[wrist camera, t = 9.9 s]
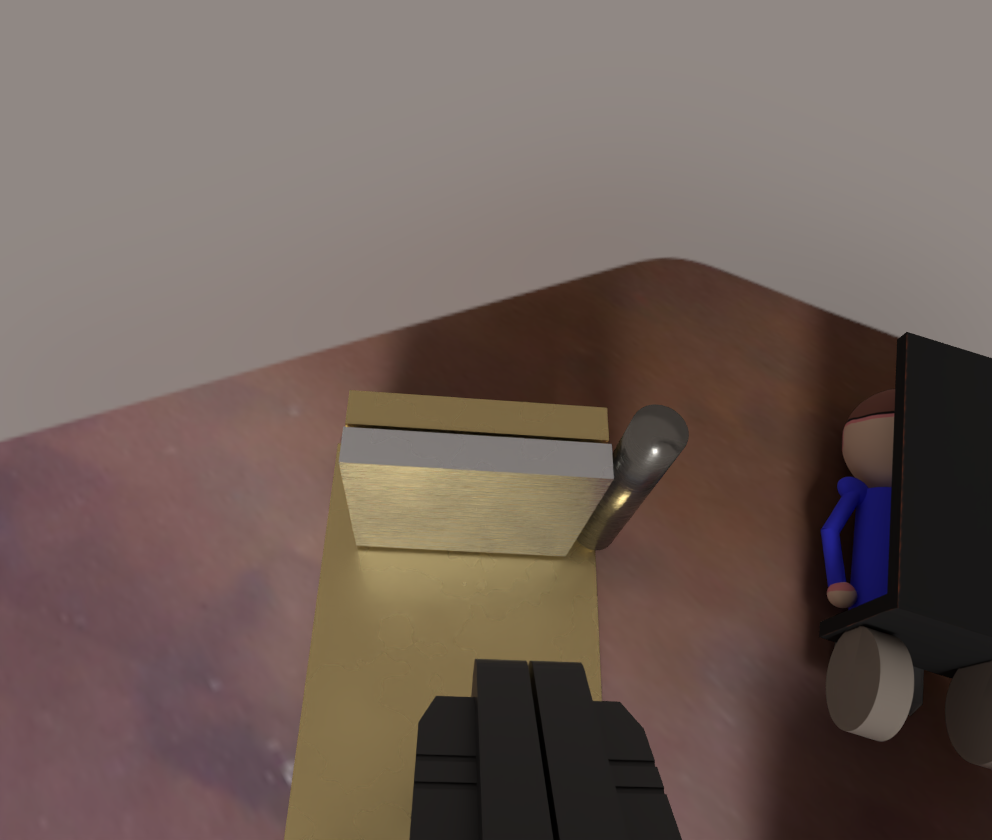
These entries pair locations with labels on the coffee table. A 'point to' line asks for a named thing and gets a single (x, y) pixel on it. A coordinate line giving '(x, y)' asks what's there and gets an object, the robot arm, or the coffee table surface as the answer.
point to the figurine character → (916, 551)
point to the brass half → (444, 612)
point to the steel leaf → (470, 490)
